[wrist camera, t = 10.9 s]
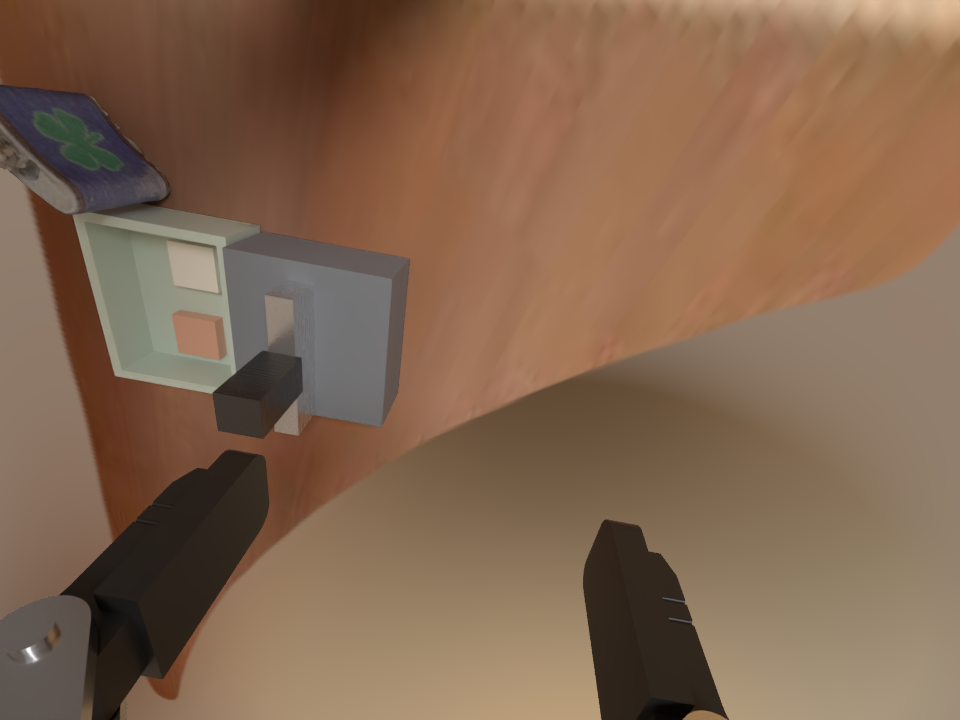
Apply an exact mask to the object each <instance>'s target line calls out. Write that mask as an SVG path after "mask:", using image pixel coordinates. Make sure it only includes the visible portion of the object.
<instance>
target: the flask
mask: <svg viewBox="0 0 960 720" xmlns="http://www.w3.org/2000/svg"><path fill="white" fill-rule="evenodd" d="M119 128H120V127H119V126H117V125H115V124H114V123H112V121H111V120H110V119H109V117H108V115H107V112H105V111H104V110H103V109H102V108H101V107H100V105H99V104H98V103H97V102H96V100H95V99H94V98H93V97H91V96H89V95H86V94H82V93H81V92H79V93H71V92H62V91H52V90H44V89H39V88H25V87H13V86H7V85H0V167H1V168H3V169H8V170H9V171H10V172H11V173H12V174H13V175H15V176H16V177H17V178H18V179H19V180H20V181H22V182H23V183H24V184H25V185H26V186H27V187H28V188H30V189H31V190H32V191H34V192H35V193H36V194H38V195H39V196H40V197H41V198H42V199H44V200H45V201H46V202H47V203H48V204H50V205H52V206H53V207H55V208H56V209H57V210H58V211H60V212H62V213H64V214H66V215H72V216H73V215H75V214H82V213H87V212H92V211H98V210H103V209H110V208H117V207H122V206H126V205H132V204H137V203H143V202H149V201H159V200H162V199H164V198H165V197H167V196H168V194H169V192H170V190H171V188H170V186H169V184H168V182H167V181H166V178H165V176H164V175H163V174H162V172H161V171H160V169H158V167H157V166H156V167H154V166H153V165H152V164H151V162H150V161H149V160H148V159H147V158H146V156H145V155H144V154H143V152H142V151H141V150H140V149H139V147H138V145H136V144H135V143H134V142H133V140H130V138H129V139H128V138H127V137H126V136H124V135H123V134H122V133H121V132H120V129H119Z"/></svg>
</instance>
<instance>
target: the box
mask: <svg viewBox="0 0 960 720" xmlns="http://www.w3.org/2000/svg"><path fill="white" fill-rule="evenodd" d="M73 219H74V222H75V226H76V230H77V234H78V237H79V241H80V245H81V249H82V253H83V256H84V260H85V264H86V268H87V272H88V275H89V279H90V283H91V287H92V291H93V294H94V298H95V302H96V306H97V309H98V313H99V317H100V321H101V325H102V328H103V332H104V336H105V340H106V344H107V347H108V351H109V355H110V359H111V363H112V366H113V370H114V374H115V376H118V377H123V378H129V379H134V380H140V381H145V382H151V383H156V384H162V385H167V386H172V387H178V388H183V389H189V390H194V391H200V392H205V393H211V394H213V393H212V392H214V391H215V390H216V389H217V388H218V387H220V386H221V385H222V384H223V383H224V382H225V381H227V380H228V379H229V378H230V377H231V376H233V375H234V374H235V373H236V366H235V357H234V348H233V340H232V331H231V322H230V313H229V304H228V295H227V286H226V277H225V269H224V260H223V251H222V247H225V246H228V245H230V244H233V243H235V242H238V241H241V240H243V239H246V238H248V237H251V236H254V235H256V234H259V233H260V225H255V224H250V223H245V222H239V221H234V220H228V219H223V218H218V217H212V216H207V215H201V214H196V213H191V212H185V211H180V210H174V209H169V208H163V207H158V206H153V205H147V204H142V203H137V204H132V205H126V206H122V207H117V208H110V209H103V210H98V211H92V212H87V213H82V214H75V215H73ZM172 238H176V239H182V240H187V241H193V242H198V243H203V244H209V245H214V246H216V247H217V256H218V264H219V273H220V281H221V289H222V292H220V293H215V292H209V291H204V290H198V289H192V288H187V287H181V286H176V285H174V282H173V276H172V270H171V265H170V259H169V253H168V248H167V242H166V240H169V239H172ZM179 310H185V311H191V312H197V313H202V314H208V315H213V316H219V317H222V318H223V326H224V334H225V341H226V349H227V355H226V356H224V357H223V358H222V359H220V360H218V359H212V358H206V357H201V356H195V355H190V354H184V353H179V351H178V346H177V340H176V335H175V330H174V324H173V319H172V314H173V313H175V312H177V311H179Z"/></svg>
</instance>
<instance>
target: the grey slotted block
mask: <svg viewBox="0 0 960 720" xmlns="http://www.w3.org/2000/svg"><path fill="white" fill-rule="evenodd" d="M222 251H223V260H224V269H225V277H226V286H227V295H228V304H229V313H230V322H231V331H232V340H233V348H234V357H235V366H236V372H237V371H239V370H240V369H241V368H242V367H243V366H244V365H246V364H247V363H248V362H249V361H250V360H252V359H253V358H254V357H255V356H256V355H257V354H259V353H260V352H261V351H268V352H269V347H268V334H267V320H266V307H265V295H266V294H267V293H269V292H270V291H272V290H273V289H275V288H277V287H278V286H280V285H281V284H283V283H284V282H286V281H288V280H290V281H295V282H301V283H306V284H312V285H314V332H315V386H316V413H315V414H314V415H317V416H322V417H327V418H333V419H338V420H344V421H349V422H355V423H360V424H366V425H371V426H377V427H382V425H383V423H384V421H385V419H386V417H387V415H388V413H389V410H390V408H391V406H392V404H393V402H394V400H395V398H396V396H397V393H398V386H399V375H400V364H401V353H402V341H403V330H404V319H405V308H406V297H407V286H408V274H409V263H410V259H409V258H403V257H398V256H392V255H387V254H381V253H376V252H371V251H365V250H360V249H354V248H349V247H344V246H338V245H333V244H327V243H322V242H316V241H311V240H306V239H300V238H295V237H289V236H284V235H279V234H273V233H268V232H261V233H259V234H256V235H254V236H251V237H248V238H246V239H243V240H241V241H238V242H235V243H233V244H230V245H228V246H225V247H222Z"/></svg>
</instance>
